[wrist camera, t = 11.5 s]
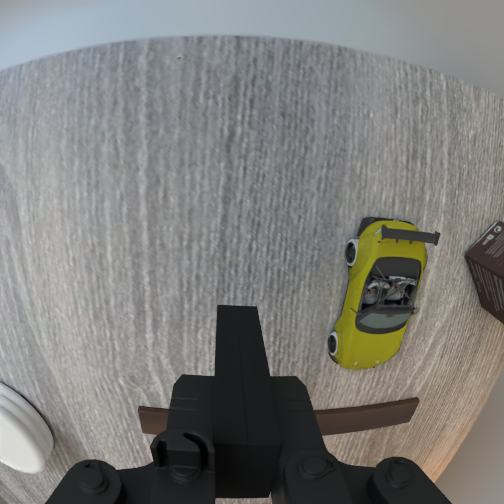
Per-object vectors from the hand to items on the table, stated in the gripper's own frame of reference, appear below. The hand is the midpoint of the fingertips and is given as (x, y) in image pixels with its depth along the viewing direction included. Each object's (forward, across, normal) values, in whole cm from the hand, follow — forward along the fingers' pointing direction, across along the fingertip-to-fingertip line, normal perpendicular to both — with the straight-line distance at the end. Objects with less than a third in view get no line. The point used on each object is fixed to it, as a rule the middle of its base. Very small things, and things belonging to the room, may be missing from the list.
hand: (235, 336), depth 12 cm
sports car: (+6, +9, -1) cm, 10 cm away
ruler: (+5, +5, -12) cm, 14 cm away
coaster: (+5, -20, -15) cm, 26 cm away
